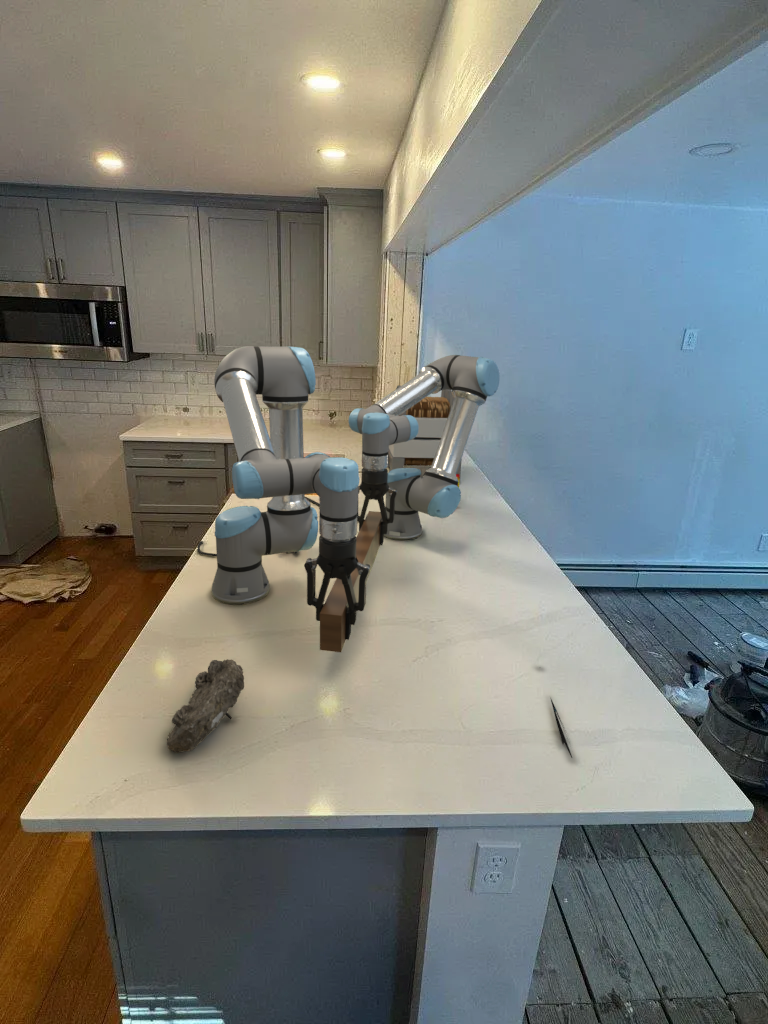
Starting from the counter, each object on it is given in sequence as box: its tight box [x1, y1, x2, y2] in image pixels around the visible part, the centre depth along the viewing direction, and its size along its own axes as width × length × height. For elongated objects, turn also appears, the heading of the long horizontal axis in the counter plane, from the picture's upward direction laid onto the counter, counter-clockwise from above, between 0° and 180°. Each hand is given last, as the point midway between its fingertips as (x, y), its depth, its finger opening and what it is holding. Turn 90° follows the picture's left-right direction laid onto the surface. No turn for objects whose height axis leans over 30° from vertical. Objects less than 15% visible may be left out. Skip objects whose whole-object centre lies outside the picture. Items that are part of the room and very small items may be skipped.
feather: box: [539, 666, 573, 758], centre depth 114 cm, size 2×28×2 cm
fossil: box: [166, 658, 245, 754], centre depth 106 cm, size 22×10×15 cm
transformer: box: [387, 384, 463, 483], centre depth 268 cm, size 34×33×41 cm
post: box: [319, 510, 383, 653], centre depth 145 cm, size 62×5×9 cm, turn 172°
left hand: (335, 634), depth 122 cm, fingers closed on post, 5 cm apart
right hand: (372, 542), depth 170 cm, fingers closed on post, 5 cm apart
